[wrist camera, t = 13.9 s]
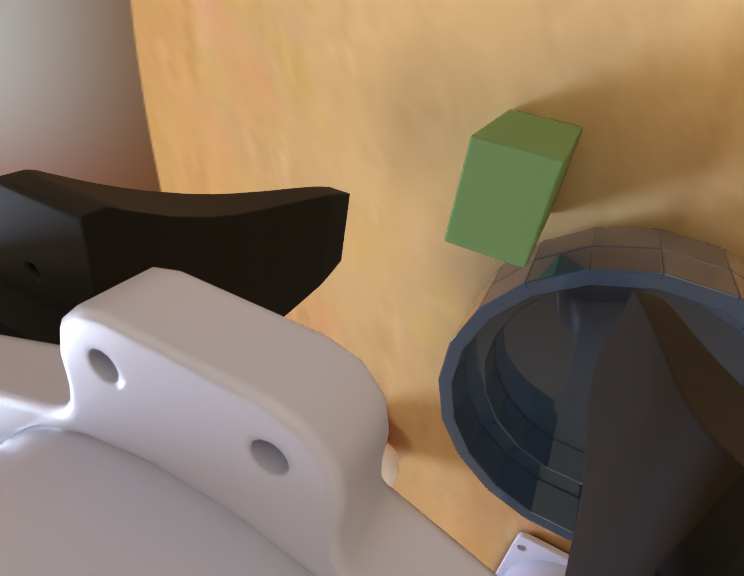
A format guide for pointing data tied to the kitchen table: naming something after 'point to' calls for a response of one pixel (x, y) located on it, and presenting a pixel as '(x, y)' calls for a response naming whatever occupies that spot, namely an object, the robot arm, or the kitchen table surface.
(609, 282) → the bowl
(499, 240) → the green block
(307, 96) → the kitchen table surface
